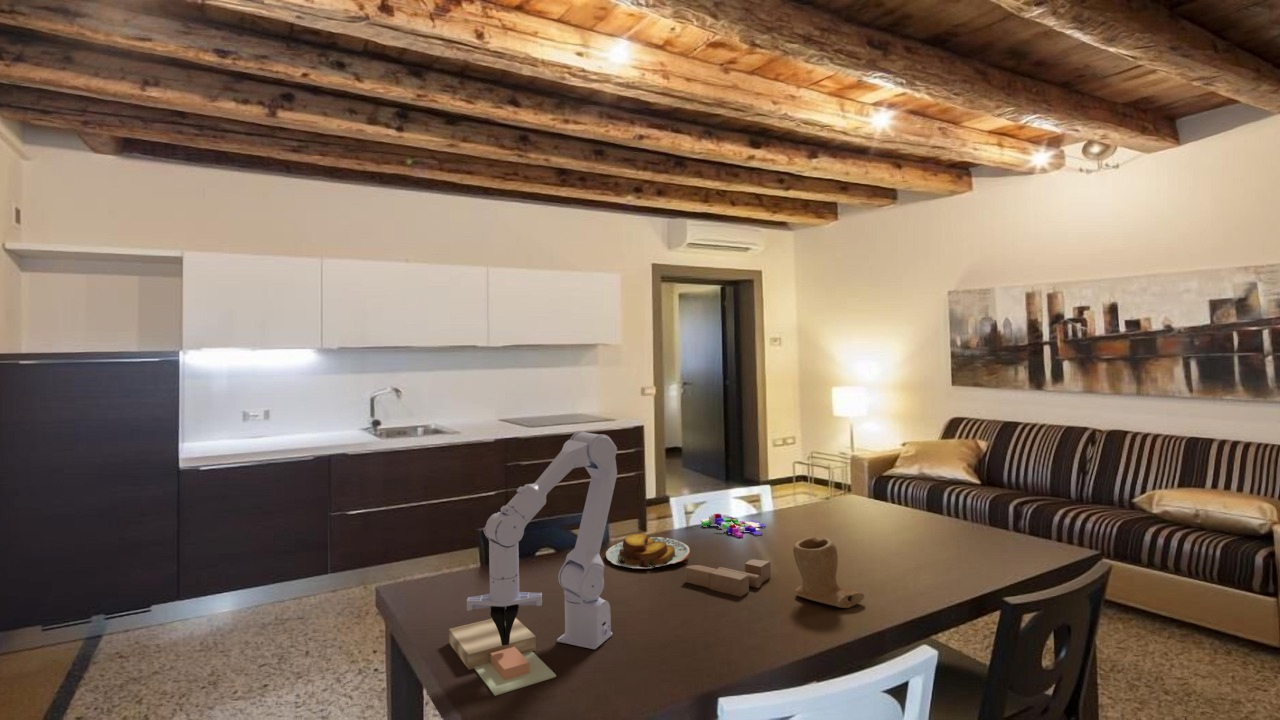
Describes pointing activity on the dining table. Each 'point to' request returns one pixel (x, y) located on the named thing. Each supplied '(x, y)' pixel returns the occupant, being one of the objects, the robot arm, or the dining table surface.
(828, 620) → the dining table surface
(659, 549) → the food on plate
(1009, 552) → the dining table surface
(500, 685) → the mat
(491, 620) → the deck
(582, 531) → the robot arm
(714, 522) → the building block set
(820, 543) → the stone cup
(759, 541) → the dining table surface
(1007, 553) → the dining table surface
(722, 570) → the wooden block set
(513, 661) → the tile
